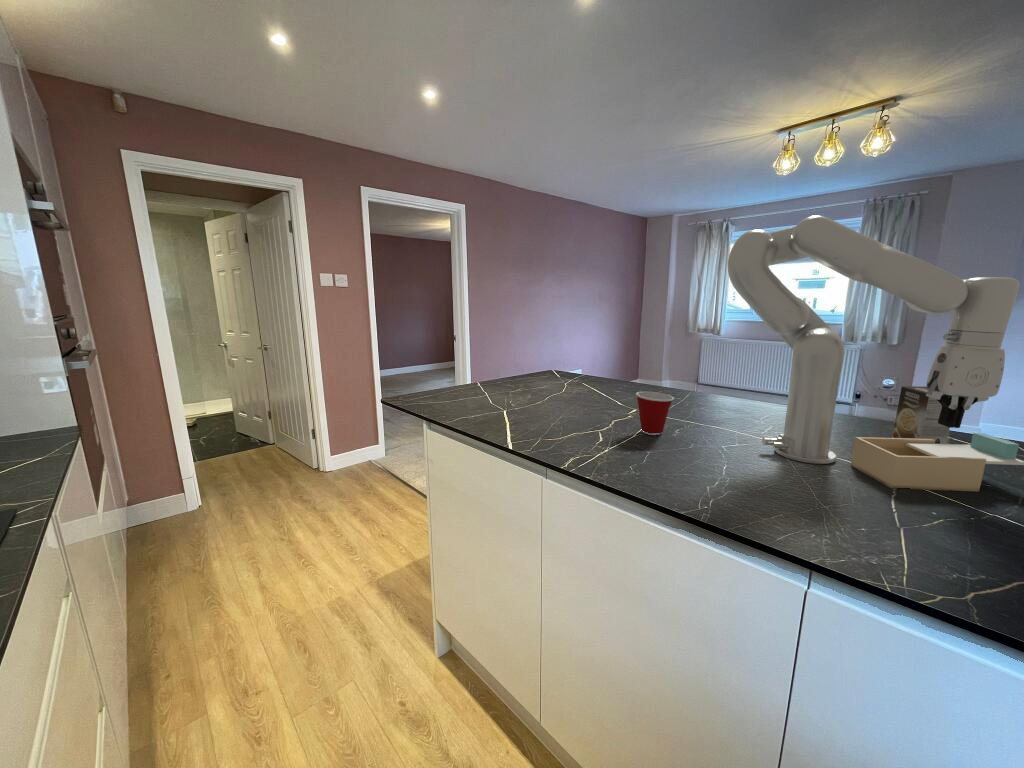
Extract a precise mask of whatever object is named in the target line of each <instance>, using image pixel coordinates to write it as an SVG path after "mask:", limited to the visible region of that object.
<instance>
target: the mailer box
mask: <svg viewBox="0 0 1024 768" xmlns="http://www.w3.org/2000/svg"><path fill="white" fill-rule="evenodd" d="M934 442H935V440H934V439H912V438H892V437H870V436H869V437H867V436H866V437H861V436H855V437H854V442H853V443H854V444H853V448H852V449H853V450H852V455H851V462H850V466H852V467H853V468H855V469H856V470H858V471H860V472H862V473H863V474H865V475H867V476H869V477H871V478H872V479H874V480H875V481H878V482H879V483H881V484H883V485H885V486H886V487H888V488H890V489H897V488H910V489H909V490H924V489H927V491H928V490H929V491H930V490H931V491H950V490H951V491H954V492H955V491H956V492H957V491H959V492H980V488H981V486H982V485H981V484H982V480H983V477H984V472H985V467H986V464H985V463H986V459H985V458H968V457H932V456H929V455H927V454H925V453H922V452H920V451H918V450H915V449H913V448H910V447H908V446H906V443H923V444H934Z"/></svg>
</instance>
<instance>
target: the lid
mask: <svg viewBox="0 0 1024 768" xmlns="http://www.w3.org/2000/svg"><path fill="white" fill-rule="evenodd" d="M906 446H908V447H910V448H913V449H915V450H918V451H920V452H922V453H925V454H927V455H929V456H932V457H968V458H985V459H986V463H985V465H1006V466H1007V465H1009V466H1010V465H1011V466H1013V465H1015V466H1024V460H1021V459H1019V458H1017V454H1018V450H1019V447H1020V444H1019V443H1016V442H1013V441H1010V440H1006V439H1004V438H1000V437H997V436H994V435H991V434H987V433H983V432H972V437H971V442H970V444H961V443H960V444H958V443H957V444H954V443H946V444H923V443H906Z"/></svg>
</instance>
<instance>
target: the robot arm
mask: <svg viewBox="0 0 1024 768" xmlns="http://www.w3.org/2000/svg"><path fill="white" fill-rule="evenodd" d="M807 258H809V259H811V260H813V261H815V262H817V263H818V264H821V265H823V266H825V267H827V268H829V269H831V270H833V271H835V272H836V273H838V274H840V275H842V276H844V277H846V278H848V279H851V280H852V281H855V282H859V283H863V284H865V285H866V284H867V285H870V286H872V287H875V288H876V289H879V290H883V291H884V292H887V293H889V294H890V295H892V296H895V297H896V298H898V299H900V300H902V301H904V302H905V304H906V305H907V307H908V308H910V309H911V310H913V311H915V312H918V313H924V314H934V315H935V314H936V315H937V314H945V313H949V312H953V315H952V317H951V318H952V319H951V321H950V325H949V330H948V332H947V333H944V334H943V335H942V340H944V341H945V343H944V344H942V345H941V347H940V348H939V350H938V352H937V354H936V355H935V358H934V360H933V362H932V364H931V367H930V369H929V373H928V376H927V380H926V386H925V387H927V388H928V389H929V390H928V391H927V393H926V396H927V397H931V398H934V399H937V400H938V402H939V405H940V406H942V409H941V412H940V416H939V419H938V424H941V425H944V426H947V427H949V428H950V429H953V428H954V429H960V428H961V425H962V422H963V418H964V415H965V412H966V411H969V410H970V409H971V406H973V405H974V404H976V403H980V402H987V401H988V400H989V399H990V398H992V397H995V396H997V394H999V391H1000V387H1001V383H1002V380H1003V375H1004V371H1005V364H1006V363H1005V360H1006V358H1005V357H1006V355H1005V354H1006V353H1005V349H1004V348H1001V347H1002V344H1003V341H1004V337H1005V335H1006V331H1007V327H1008V325H1009V322H1010V318H1011V315H1012V312H1013V309H1014V307H1015V303H1016V300H1017V296H1018V293H1019V289H1020V285H1021V284H1020V281H1019V280H1018V279H1017V278H1014V277H1006V276H1005V277H1003V276H1002V277H1001V276H1000V277H999V276H998V277H997V276H994V277H993V276H988V277H987V276H983V277H972V278H967V279H962V278H960V277H959V276H957V275H955V274H953V273H951V272H949V271H947V270H944V269H943V268H942V267H941V268H940V267H938V266H936V265H934V264H931V263H929V262H927V261H925V260H923V259H921V258H918V257H916V256H914V255H911V254H908V253H906V252H905V251H904V252H903V251H902V250H899V249H897V248H895V247H892V246H890V245H888V244H886V243H883V242H880V241H878V240H875V239H874V238H871V237H870V236H868V235H865V234H863V233H861V232H860V231H856V230H854V229H852V228H850V227H848V226H846V225H844V224H842V223H841V222H837V221H835V220H833V219H831V218H829V217H827V216H824V215H811V216H807V217H806V218H804V219H802V220H801V221H800V222H798V223H797V224H796V225H795V226H792V227H788V228H783V229H780V230H776V231H771V232H769V231H766V230H763V229H752V230H749V231H746V232H744V233H743V234H741V235H740V236H739V237H738V238H737V240H735V242H734V244H733V246H732V247H731V250H730V252H729V255H728V260H727V273H728V277H729V281H730V282H731V284H732V287H733V288H734V289H735V291H736V292H737V293H738V295H739V296H740V297H741V298H742V299H743V300H744V302H746V303H747V304H748V306H749V307H750V308H751V309H752V310H753V311H754V313H755V314H756V315H757V316H758V317H759V318H760V319H761V320H762V321H763V324H765V326H766V327H767V328H768V329H769V330H770V331H771V332H773V333H775V334H777V335H778V336H779V337H780V339H781V340H783V341H784V343H785V344H787V346H788V347H789V348H790V349H791V350H792V359H791V361H792V362H791V371H790V379H789V387H788V394H787V395H788V396H787V403H786V410H785V411H786V412H785V421H784V428H783V429H784V430H783V433H778V436H775V438H774V437H773V438H772V437H762V439H761V443H762V445H763V446H772V448H774V451H775V452H776V453H777V454H778V455H780V456H782V457H783V458H786V459H790V460H792V461H797V462H801V463H807V464H817V465H820V464H821V465H823V464H824V465H825V464H833V463H834V462H836V460H837V454H836V453H835V452H833V450H832V451H831V450H830V445H831V437H832V431H833V425H834V417H835V412H836V404H837V397H838V390H839V384H840V378H841V374H842V370H843V364H844V360H845V343H844V341H843V339H842V338H841V337H840V336H839V335H838V333H837V332H835V331H834V330H833V329H832V328H831V326H829V324H828V323H826V322H825V320H823V319H822V317H820V315H818V314H817V313H816V312H815V311H814V310H813V309H812V307H810V305H809V304H807V303H806V301H804V300H803V299H802V298H800V297H797V296H796V295H795V294H794V293H793V292H792V291H791V290H789V289H788V288H787V286H786V285H785V284H784V283H783V282H782V281H781V280H780V278H778V277H777V276H776V274H774V273H773V272H772V270H771V269H770V267H769V266H773V265H779V264H782V263H783V264H784V263H789V262H794V261H798V260H802V259H807Z"/></svg>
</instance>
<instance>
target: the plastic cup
mask: <svg viewBox="0 0 1024 768" xmlns="http://www.w3.org/2000/svg"><path fill="white" fill-rule="evenodd" d="M635 396H636V400H637V405H638V406H637V407H638V413H639V422H640V427H641V429H642V430H643V431H645V432H648V433H661V432H662V433H663V431H664V428H665V424H666V422H667V417H668V413H669V410H670V407H671V404H672V402H673V401H674V400H675V397H674V396H672V395H670V394H666V393H662V392H656V391H655V392H654V391H638V392H635ZM642 430H641V431H642Z"/></svg>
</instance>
